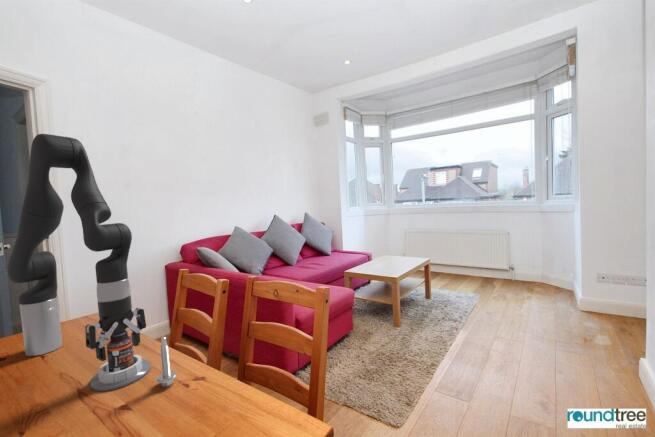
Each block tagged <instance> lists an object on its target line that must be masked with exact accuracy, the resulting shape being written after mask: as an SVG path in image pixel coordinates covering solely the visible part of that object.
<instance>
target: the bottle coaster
mask: <svg viewBox="0 0 655 437" xmlns="http://www.w3.org/2000/svg"><path fill="white" fill-rule="evenodd" d="M133 356H134V365H132V366H130V367H128V368H126V369H124V370H120V371H117V372H109V367H108V361H106V362H104V364H102V365H101V366H99V368H98V372H97V373H95V374H94V375H93V376H92V378H91V379H90V381H89V386H90V388H91V389H92V390H94V391H95V392H96V391H97V392H108V391H115V390H117V389H118V390H119V389H121V388H124V387H127V386H130V385H133V384H134V383H136V382H138V381H140V380H141V379H143V378H144V377H145V376H146V375H148V374H149V372H150V370H151V368H152V366H151V362H150V361H149V360H147V359H143V357H142V355H139V354H134V353H133Z"/></svg>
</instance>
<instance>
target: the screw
mask: <svg viewBox="0 0 655 437" xmlns="http://www.w3.org/2000/svg"><path fill="white" fill-rule="evenodd" d="M160 340H161V344H160V356H161V357H160V358H161V359H160V361H161V369H162V372H161V373H160V374H158V376H157V377H156V379H155V381H156V382H157V383H158V384H161V387H165V388H166V387H169V386H171V385H173V380H174V379H175V378H176V377H177V376H178V373H177V371H175V370H171V365H170V356H169V355H170V354H169V353H170V352H169V345H168V343H167V338H166V337H165V336H161V339H160Z"/></svg>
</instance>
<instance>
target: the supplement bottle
mask: <svg viewBox="0 0 655 437" xmlns="http://www.w3.org/2000/svg"><path fill="white" fill-rule="evenodd" d="M128 333H129V332H128V330H127V329H126V330H124V331H119V332H118V333H116V334H112V335H111V336H110V338H109V340H110V341H109V342H107V345H106V354H107V355H106V357H107V362H108V367H109V372H117V371H120V370H124V369H126V368H128V367H130V366H132V365H134V356H133V355H134V347H133V344H132V337H131V336H130V337H129V336H128V335H129V334H128Z"/></svg>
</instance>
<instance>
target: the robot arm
mask: <svg viewBox="0 0 655 437" xmlns="http://www.w3.org/2000/svg"><path fill="white" fill-rule="evenodd" d="M51 168H54V169H55V168H56V169H57V168H58V169H72V170H73V171H74V174H76V179H75V182H74V184H73V185H72V186H73V187H72V189H71V192H70V199H71V202H72V205H73V207H74V208H75V210H76V213H77V215H78V217H79V218H80V221H81V227H82V238H83V243H84V245H85V246H86V248H87V249H88V250H90V251H92V252H96V253H97V252H98V253H99V252H104V251H110V255H109V256H107V257H105V258H102V259H100V260H98V261H97V262H96V264H95V278H96V298H97V309H98V317H99V319H98V322H97V323H93V324H86V325H85V326H84V328H85V332H84V333H85V347H86V348H89V349H91V350H94V349H95V355H96V359H97V360H99V361H101V362H105V361H106V360H107V355H106V354H107V352H106V347H105V344H106V342H107V341H108V340H110V336H111V335H112V334H116V333H118V332H119V331H124V330H126V331H127V329H128V330H129V331H130V332H131V334H130V335H131V336H130V338H131V339H132V344H133V346H134V347H138V346H139V345H140V343H141V334H140V332H141V331H142V330H144V329H146V327H147V323H146V316H145V309H143V308H140V307H136V308H135V309H134V310H132V308H133V304H132V296H131V290H132V289H131V285H130V281H129V275H128V259H129V255H130V254H129V253H130V251H131V250H130V249H131V245H132V240H133V238H132V237H133V235H132V231H131V229H130V228H129V226H128V225H127V224H125V223H121V222H114V223H106V221H108V220H110V219H111V217H112V210H111V208H110V207H109V205H108V203H107V201H106V199H105V198H104V196H103V194H102V193H101V191H100V189H99V186H98V183H97V181H96V178H95V175H94V171H93V168H92V165H91V162H90V159H89V155H88V153H87V151H86V149H85V147H84V144H83V143H82V142H81V141H80V140H79V139H77V138H74V137H70V136H69V137H68V136H62V135H56V134H48V133H39V134H37V135H35V136H34V138H33V139H32V142H31V147H30V156H29V166H28V176H27V177H28V178H27V184H26V190H25V195H24V198H23V203H22V207H21V211H20V215H19V216H20V218H19V223H18V230H17V235H16V239H15V241H14V245H13V248H12V251H11V253H10V256H9V260H8V264H7V276H8V279H9V280H10V281H11V282H12V283H15V284H24V283H29V282H31V283H32V282H35V281H38V282H37V283H36V284H35V285H34V286H33V287H31V288H30V289H27V290H26V291H24V292H22V293H20V294H19V295H18V303H19V305H18V306H19V310H20V312H19V313H20V320H21V329H22V337H23V345H24V354H25V356H27V357H35V356H37V357H38V356H42V355H45V354H48V353H51V352H53V351H56V350H57V349H60V348H61V347H62V346H63V336H62V326H61V320H60V309H59V301H58V274H57V260H56V258H55V256H54V254H53V253H52V252H51V251H47V250H46V251H45V250H43V251H36V252H35V250H37V247H39V245H41V243H43V242H44V241H45V240H46V239H47V238H48V237H50V236H51V235H52V234H53V233H54V232H55V231H56V230H57V229H58V227H59V226H60V224H61V222H62V221H61V220H62V217H63V213H64V210H65V209H64V203H63V201H62V198H61V197H60V196H59V193H58V192H57V191H56V190H55V189H54V186H53V185H52V184H51V181H50V170H51ZM134 317H135V318H136V324H134V323H133V322H132V320H133V318H134ZM99 328H100V329H101V330H100V331H99V333H98V334H97V332H98V329H99ZM96 334H97V336H98V337H97V338H96Z"/></svg>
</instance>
